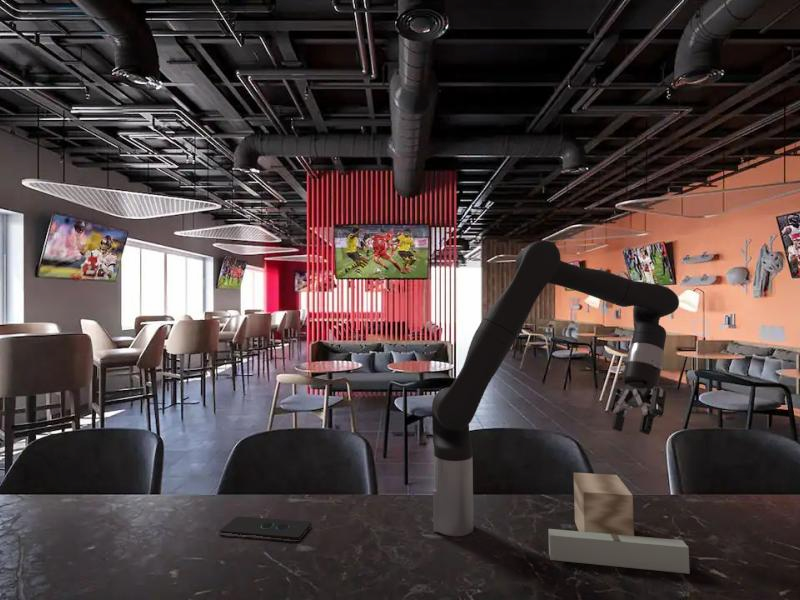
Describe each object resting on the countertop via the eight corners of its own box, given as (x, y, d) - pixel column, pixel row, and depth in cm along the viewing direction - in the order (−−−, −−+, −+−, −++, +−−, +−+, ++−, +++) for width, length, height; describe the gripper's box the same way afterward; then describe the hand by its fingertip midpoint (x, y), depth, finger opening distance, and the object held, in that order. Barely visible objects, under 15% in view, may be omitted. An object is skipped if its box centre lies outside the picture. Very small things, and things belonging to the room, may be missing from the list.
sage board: (550, 559, 93) (549, 534, 93) (548, 552, 96) (548, 528, 96) (689, 573, 88) (688, 546, 88) (683, 565, 91) (682, 539, 91)
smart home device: (298, 536, 101) (218, 530, 105) (298, 544, 101) (218, 537, 105) (312, 520, 110) (237, 515, 113) (312, 528, 110) (237, 522, 113)
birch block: (585, 547, 98) (583, 491, 99) (574, 521, 111) (573, 472, 112) (634, 552, 96) (632, 495, 97) (618, 525, 109) (616, 475, 109)
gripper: (609, 362, 113) (595, 424, 109) (653, 357, 100) (640, 428, 95) (634, 372, 114) (621, 435, 110) (681, 369, 101) (668, 440, 96)
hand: (629, 431), depth 103 cm, fingers open, 8 cm apart
